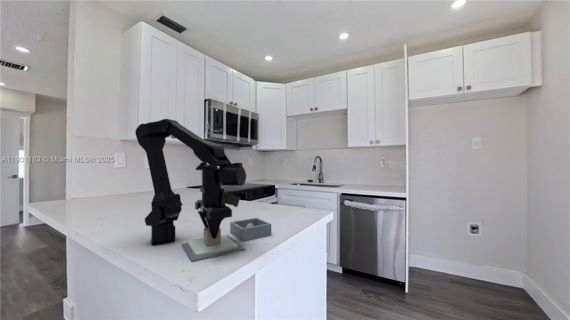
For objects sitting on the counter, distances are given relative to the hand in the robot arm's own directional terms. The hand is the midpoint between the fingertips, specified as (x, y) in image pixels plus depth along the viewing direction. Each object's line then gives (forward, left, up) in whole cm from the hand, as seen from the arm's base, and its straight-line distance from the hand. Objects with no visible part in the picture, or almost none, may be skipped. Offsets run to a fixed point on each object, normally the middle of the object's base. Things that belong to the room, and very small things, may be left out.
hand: (212, 236), depth 70 cm
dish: (+15, +5, -3) cm, 16 cm away
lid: (0, 0, -3) cm, 3 cm away
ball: (+15, +5, -1) cm, 16 cm away
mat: (0, 0, -3) cm, 3 cm away
